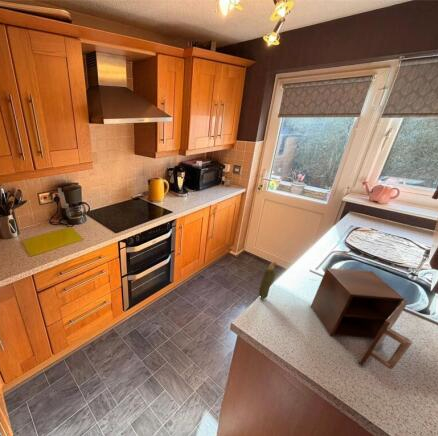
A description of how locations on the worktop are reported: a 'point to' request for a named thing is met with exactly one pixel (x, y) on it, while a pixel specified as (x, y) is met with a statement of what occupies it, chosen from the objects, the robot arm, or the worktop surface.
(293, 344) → the worktop surface
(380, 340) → the shelf door
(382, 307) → the cupboard
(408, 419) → the worktop surface
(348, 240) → the worktop surface
